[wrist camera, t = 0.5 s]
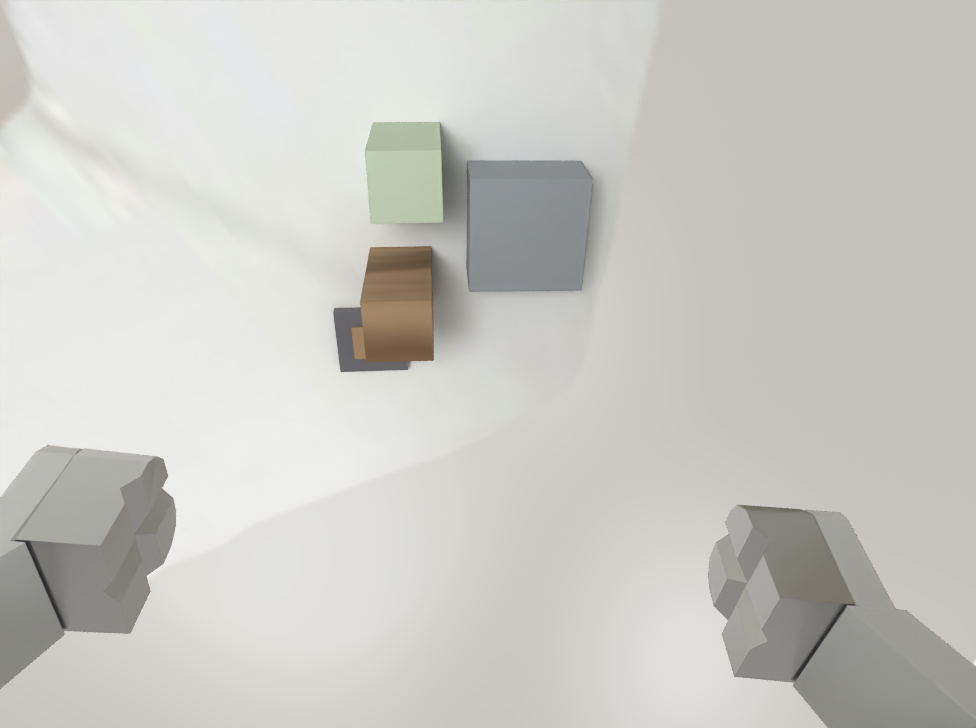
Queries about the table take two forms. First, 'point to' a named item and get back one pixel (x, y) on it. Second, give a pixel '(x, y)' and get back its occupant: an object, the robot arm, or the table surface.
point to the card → (356, 344)
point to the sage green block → (404, 172)
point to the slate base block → (527, 225)
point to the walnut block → (398, 305)
